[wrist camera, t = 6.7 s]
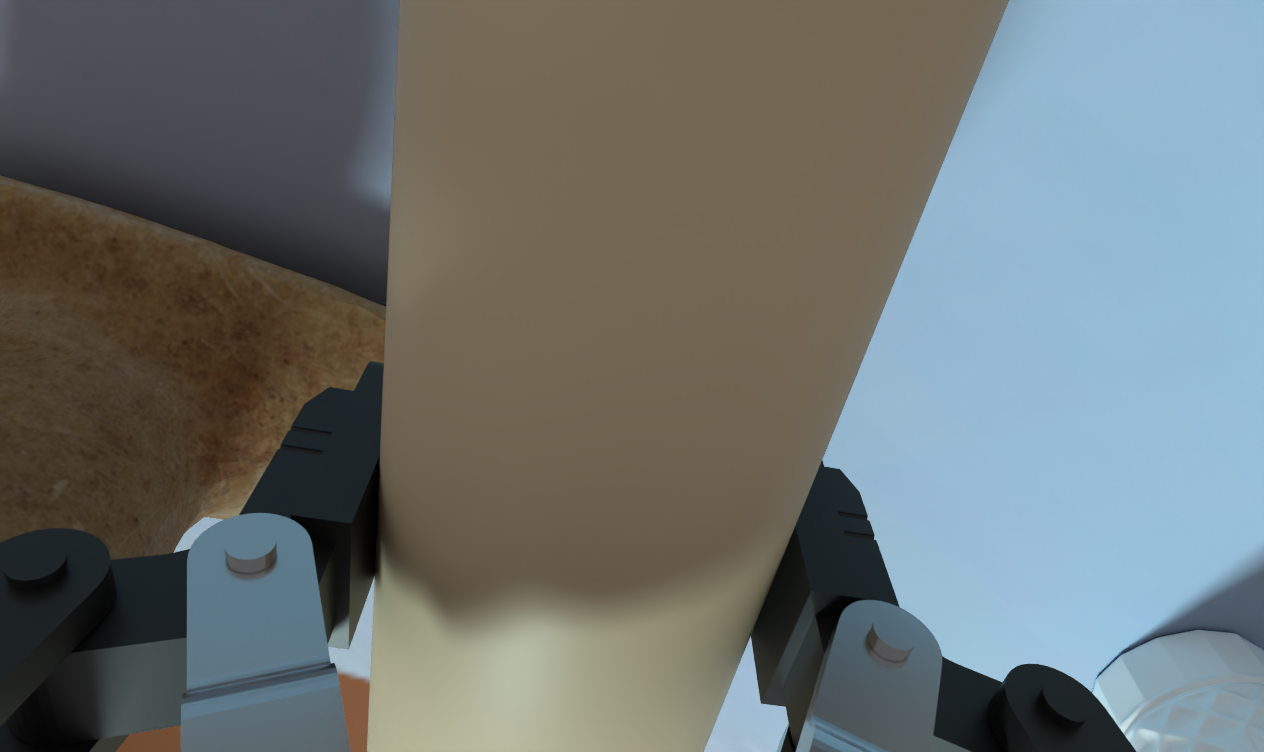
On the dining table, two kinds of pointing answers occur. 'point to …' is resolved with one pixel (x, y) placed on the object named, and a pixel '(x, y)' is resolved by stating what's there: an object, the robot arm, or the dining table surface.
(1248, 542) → the dining table surface
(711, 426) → the cylinder
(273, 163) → the dining table surface
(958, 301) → the dining table surface
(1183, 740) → the white cup
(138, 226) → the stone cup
